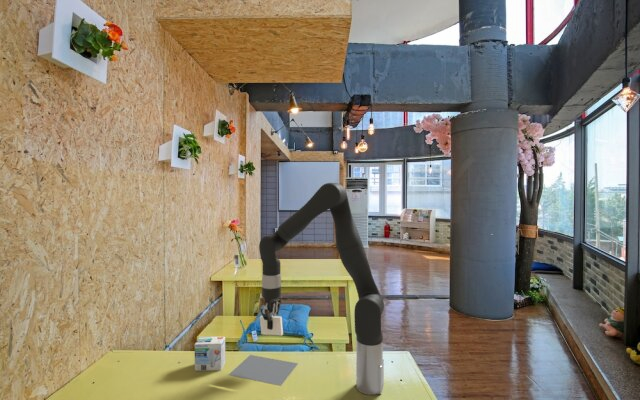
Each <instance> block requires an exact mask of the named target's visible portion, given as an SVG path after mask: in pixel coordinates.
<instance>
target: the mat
mask: <svg viewBox="0 0 640 400" xmlns="http://www.w3.org/2000/svg"><path fill="white" fill-rule="evenodd" d="M298 365H299V362H293V361H286V360H281V359H276V358H275V359H274V358H271V357H266V356H265V357H263V356H259V355H254V354H249V356H247V357H246V358H245V359H244V360H243V361H242V362H241V363H240V364H238V365H237V366H236V367H235V368H234V369H233V370H232V371H231V372H230V373H228V376H232V377H235V378H241V379H246V380H251V381H255V382H256V381H257V382H261V383H265V384H269V385H275V386H280V387H281V386H282V385H283V384H284V383H285V381H286V380H287V379H288V377H289V376H290V374H292V372H293V371H294V370H295V368H297V366H298Z"/></svg>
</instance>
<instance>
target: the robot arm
mask: <svg viewBox="0 0 640 400" xmlns="http://www.w3.org/2000/svg"><path fill="white" fill-rule="evenodd" d="M349 201H350V200H349V197H348V194H347V190H346V188H345V187H344V186H343V185H342V184H340V183H337V182H328V183H327V182H326V183H324V184H322V185H321V186H320V187H319V189H317V191H316V192H314V194H313V195H312V197H310V199H309V200H307V202H306V203H305V204H304V205H303V206H302V207H300V208H299V209H298V210H297V211H296V212H295V213H293V214H292V215H291V216H289V217H288V218H286V220H285V221H283V222H282V223H281V224H280V225H279V226H278V228H277V230H276V231H274V232H273V233H272V234H268V235H264V236H263V237H261V239H260V241H259V245H258V249H259V250H258V251H259V255H260V260H261V262H262V275H261V276H262V277H261V298H263V299H264V303H263V308H261V309H260V313H261V316H263V318H264V320H267V329H270V330H272V329H273V316H279V311H280V309H281V304H282V299H279V298H281V296H282V276H281V261H280V259H279V258H277V256H276V255H277V254H276V253H277V252H278V251H280V250H282V249H283V248H284V247H285V246H286V245H287V244H289V242H290V241H291V240H293V239H294V238H295V237H297V236H298V235H299V234H300V233H301V232H303V231H304V230H305V229H306V228H307V227H308V226H309V224H311V222H312V221H313V220H314V219H316V218H317V217H318V216H320V215H321V214H323V213H324V212H326V211H330V214H331V216H332V219H333V222H334V233H335V235H334V236H335V245H336V250H337V251H338V256H339V258H340V261H341V263H342V265H343V267H344V268H345V271H346V272H347V274H348V275H349V276H350V277H351V279H352V282H353V283H354V285H355V288H356V289H355V290H356V292H357V297H358V300H357V301H356V302H355V306H354V333H355V335H356V338H355V339H356V343H355V344H356V348H355V349H356V356H355V357H356V363H355V364H356V371H355V372H356V378H355V379H356V389H357V391H359V392H360V393H362V394H364V395H369V396H370V395H371V396H372V395H382V392H383V390H384V389H383V388H384V384H385V383H384V382H385V381H384V372H385V369H384V366H385V361H384V358H383V357H384V355H383V354H384V353H383V349H384V348H383V346H384V344H383V343H384V342H383V339H384V337H383V336H384V335H383V332H382V314H383V312H384V308H385V303H384V300H383V297H382V295H381V293H380V290H379V289H378V286H377V284H376V281H375V280H374V277H373V274H372V270H371V267H370V266H371V265H370V263H369V260H368V257H367V254H366V250H365V247H364V244H363V242H362V240H361V236H360V233H359V230H358V228H357V225H356V223H355V220H354V218H353V214H352V210H351V207H350V203H349ZM270 316H271V317H270Z"/></svg>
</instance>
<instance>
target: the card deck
mask: <svg viewBox="0 0 640 400" xmlns="http://www.w3.org/2000/svg"><path fill="white" fill-rule="evenodd" d="M270 317H271V316H270ZM259 323H260V333H261V335H264V336H266V335H267V336H281V337H282V336H283V335H284V328H283V318H282V315H281V316H279V315H276V316H273V329H272V330H270V329H267V320H264V318H263V316H262V315H260V316H259Z"/></svg>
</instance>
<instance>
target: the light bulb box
mask: <svg viewBox="0 0 640 400" xmlns="http://www.w3.org/2000/svg"><path fill="white" fill-rule="evenodd" d="M225 363H226V337H225V336H199V338H198V339H197V341H196V342H195V343H194V371H195V372H198V371H199V372H200V371H201V372H202V371H206V372H207V371H222V369H223V368H224V366H225Z"/></svg>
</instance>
